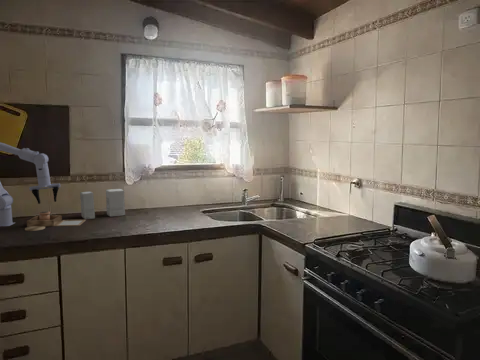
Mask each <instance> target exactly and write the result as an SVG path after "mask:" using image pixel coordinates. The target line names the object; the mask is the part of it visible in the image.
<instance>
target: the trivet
mask: <svg viewBox="0 0 480 360" xmlns="http://www.w3.org/2000/svg"><path fill="white" fill-rule="evenodd" d="M44 229H46V226H30V227H27V226H26V227H25V228H24V231H27V232H33V231H34V232H35V231H42V230H44Z"/></svg>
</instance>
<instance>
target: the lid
mask: <svg viewBox="0 0 480 360" xmlns="http://www.w3.org/2000/svg"><path fill="white" fill-rule="evenodd" d="M86 221H87V219H62V221H61V222H59V223H58V224H56V225H55V226H54V227H78V226H79V227H80V226H81V225H82V224H83V223H84V222H86Z"/></svg>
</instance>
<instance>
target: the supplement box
mask: <svg viewBox="0 0 480 360" xmlns="http://www.w3.org/2000/svg"><path fill="white" fill-rule="evenodd" d="M125 200H126V199H125V190H123V189H122V188H113V189H111V188H110V189H105V203H106V215H107V216H108V217H119V216H120V217H121V216H125V215H126V205H125V204H126V201H125Z"/></svg>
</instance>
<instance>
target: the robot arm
mask: <svg viewBox="0 0 480 360" xmlns="http://www.w3.org/2000/svg"><path fill="white" fill-rule="evenodd" d="M0 152H5V153H10V154H12V155H15V156H18V157H19V159H20V160H23V161H25V162H30V163H33V164H34V165H35V171H36V177H37V184H38V185H33V186H29V188H28V189H29V191H30V192H31V193H32V195H33V196H34V197H35V199H36V202H37V204H38V205H40V204H41V198H40V191H41V190H46V189H52V194H53V202H54V203H55V202H57V196H58V192H59V189H60V188H61V183H60V182H59V183H58V182H57V183H52V182H51V176H50V170H49V164H48V162H49V161H50V160H49V156H48V155H47V154H46V153H43V152H42V153H41V152H40V151H35V150H31V149H30V148H28V147H26V148H25V147H23V148H21V149H20V148H18V147H15V146H12V145H10V144H7V143H4V142H1V141H0ZM39 190H40V191H39ZM13 203H14V198H13V196H12V195H10V194H9V192H8V191H7V190H6V189H5V188H4V187H3V184H2V182H1V181H0V227H10V226H12V225H14V224H16V222H13V211H12V210H13V209H12V205H13Z"/></svg>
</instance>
